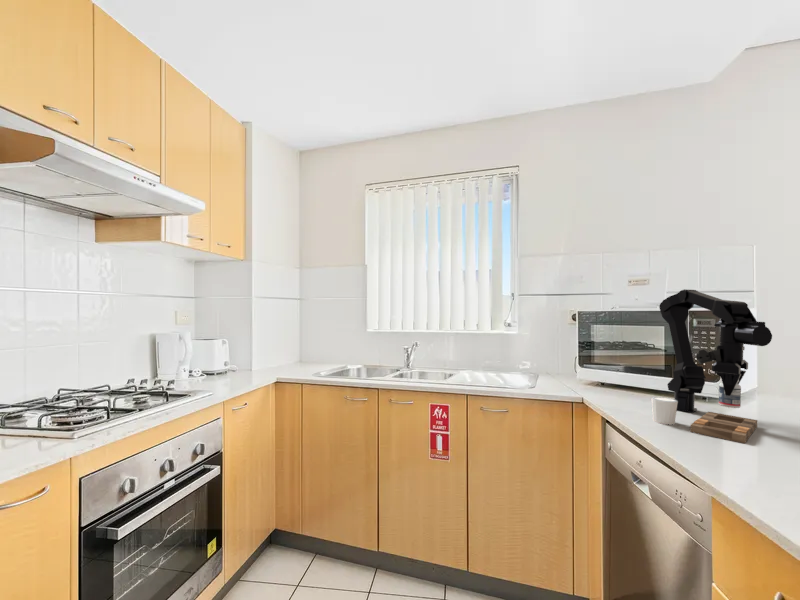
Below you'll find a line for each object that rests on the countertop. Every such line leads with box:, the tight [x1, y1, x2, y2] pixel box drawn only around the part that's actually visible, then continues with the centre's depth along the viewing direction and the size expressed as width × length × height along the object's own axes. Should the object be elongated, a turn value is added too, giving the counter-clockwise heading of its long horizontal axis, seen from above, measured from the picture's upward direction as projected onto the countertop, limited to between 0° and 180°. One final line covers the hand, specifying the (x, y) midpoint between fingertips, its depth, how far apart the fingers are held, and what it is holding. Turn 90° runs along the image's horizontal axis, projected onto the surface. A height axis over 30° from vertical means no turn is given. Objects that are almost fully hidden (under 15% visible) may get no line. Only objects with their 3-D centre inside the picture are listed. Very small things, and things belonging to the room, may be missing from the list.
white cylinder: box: [650, 396, 678, 426], centre depth 128 cm, size 7×7×7 cm
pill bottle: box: [718, 380, 742, 409], centre depth 127 cm, size 5×5×9 cm
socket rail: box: [690, 411, 758, 444], centre depth 122 cm, size 24×12×2 cm, turn 134°
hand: (729, 394), depth 127 cm, fingers closed on pill bottle, 5 cm apart
